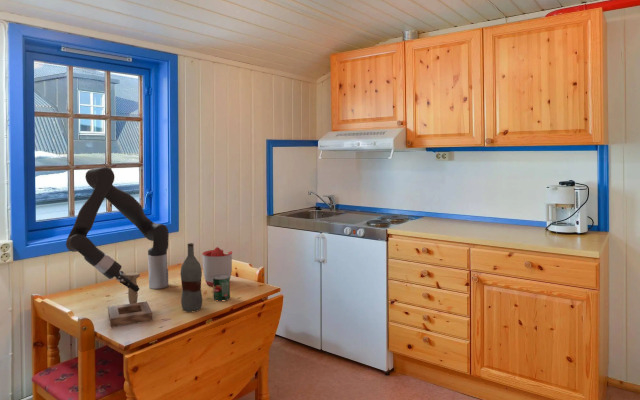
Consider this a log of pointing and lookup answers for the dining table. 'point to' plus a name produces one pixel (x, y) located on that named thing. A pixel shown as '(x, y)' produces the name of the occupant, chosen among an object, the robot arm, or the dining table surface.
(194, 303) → the bottle
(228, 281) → the canned tomato
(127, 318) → the holder
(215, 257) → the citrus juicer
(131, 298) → the handle
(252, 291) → the dining table surface
